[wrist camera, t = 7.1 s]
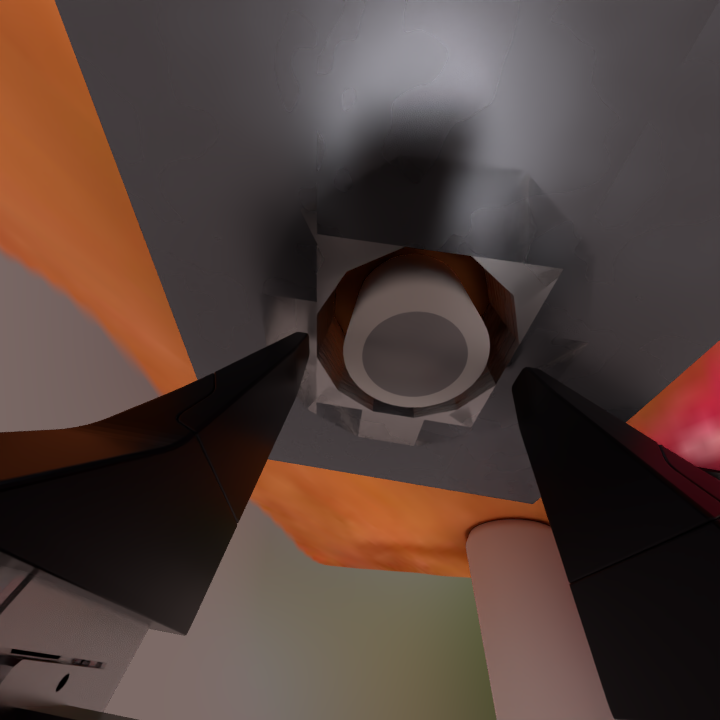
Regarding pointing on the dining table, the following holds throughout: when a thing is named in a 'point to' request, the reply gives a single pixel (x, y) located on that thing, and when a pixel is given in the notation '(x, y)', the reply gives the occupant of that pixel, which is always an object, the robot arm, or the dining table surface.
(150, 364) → the dining table surface
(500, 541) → the alcohol
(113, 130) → the dark grey square base
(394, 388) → the cap
